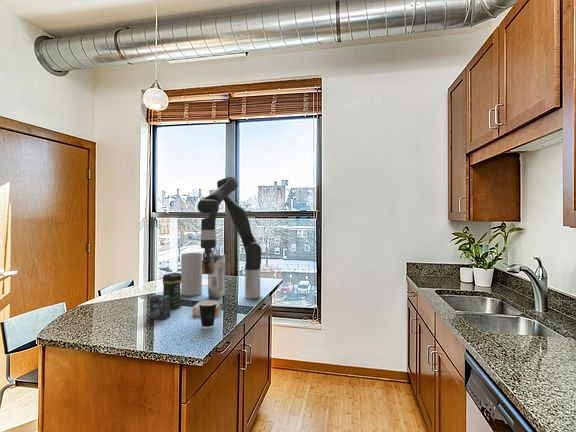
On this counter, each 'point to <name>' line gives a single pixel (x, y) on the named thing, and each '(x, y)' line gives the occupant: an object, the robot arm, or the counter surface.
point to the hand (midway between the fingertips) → (208, 271)
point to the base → (197, 309)
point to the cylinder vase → (191, 274)
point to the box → (159, 307)
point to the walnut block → (211, 267)
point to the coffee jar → (172, 289)
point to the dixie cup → (207, 313)
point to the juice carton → (217, 277)
